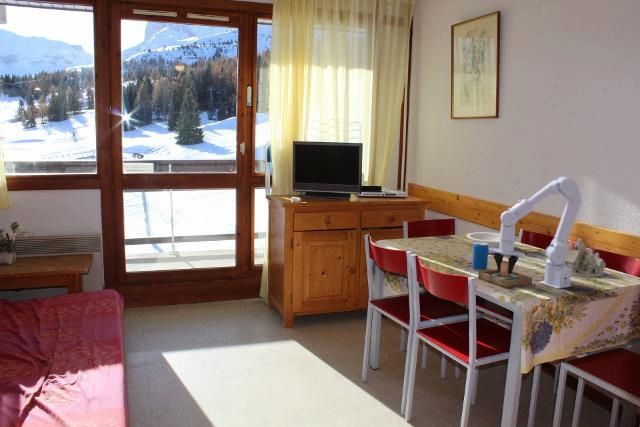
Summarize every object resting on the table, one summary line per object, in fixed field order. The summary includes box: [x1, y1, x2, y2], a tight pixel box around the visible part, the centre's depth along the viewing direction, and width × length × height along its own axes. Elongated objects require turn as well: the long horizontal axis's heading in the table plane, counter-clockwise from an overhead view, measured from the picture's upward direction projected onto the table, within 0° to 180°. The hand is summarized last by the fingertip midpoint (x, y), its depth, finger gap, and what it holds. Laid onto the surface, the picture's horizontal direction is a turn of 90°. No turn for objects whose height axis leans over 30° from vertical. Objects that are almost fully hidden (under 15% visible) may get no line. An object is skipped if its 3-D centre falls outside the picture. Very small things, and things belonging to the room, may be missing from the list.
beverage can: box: [471, 242, 489, 272], centre depth 249 cm, size 6×6×12 cm
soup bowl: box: [466, 231, 500, 251], centre depth 290 cm, size 24×24×7 cm
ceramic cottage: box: [565, 237, 607, 277], centre depth 244 cm, size 16×16×15 cm
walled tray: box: [477, 268, 533, 290], centre depth 231 cm, size 16×14×3 cm
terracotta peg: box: [500, 260, 510, 277], centre depth 231 cm, size 4×4×6 cm
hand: (505, 272), depth 231 cm, fingers closed on terracotta peg, 4 cm apart
